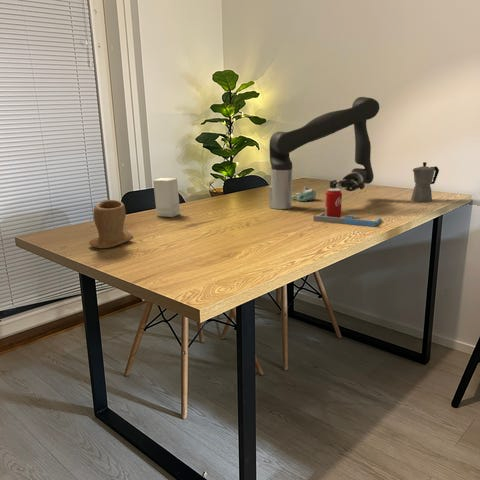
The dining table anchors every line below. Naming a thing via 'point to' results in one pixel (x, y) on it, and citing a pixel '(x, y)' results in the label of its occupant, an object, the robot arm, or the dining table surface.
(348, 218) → the e-shaped bracket
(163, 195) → the skincare box
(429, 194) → the coffeepot
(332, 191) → the beverage can
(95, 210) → the brown hollow piece
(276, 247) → the dining table surface
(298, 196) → the stuffed animal
